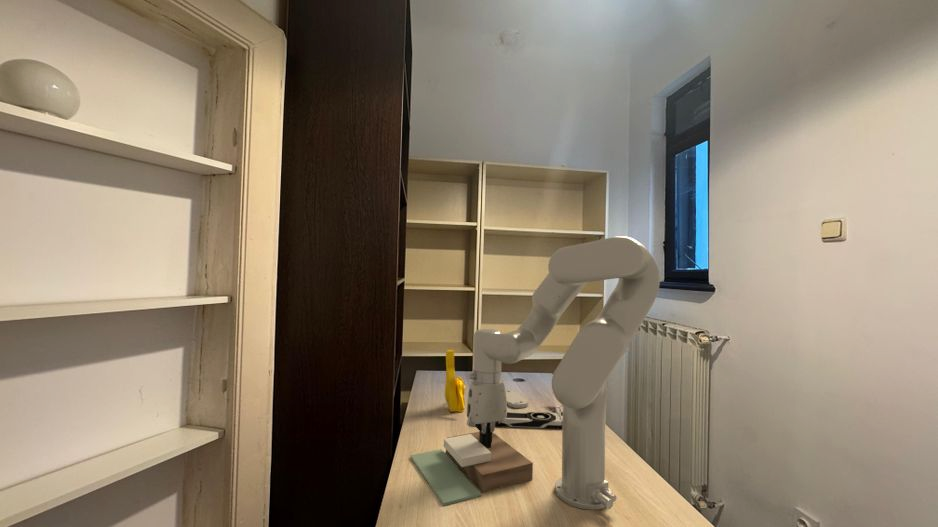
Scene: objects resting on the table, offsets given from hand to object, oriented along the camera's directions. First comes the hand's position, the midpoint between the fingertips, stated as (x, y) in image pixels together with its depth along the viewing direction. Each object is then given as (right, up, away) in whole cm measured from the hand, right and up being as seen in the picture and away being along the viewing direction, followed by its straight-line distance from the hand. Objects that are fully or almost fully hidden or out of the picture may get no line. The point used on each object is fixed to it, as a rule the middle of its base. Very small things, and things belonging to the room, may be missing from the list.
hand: (485, 446), depth 101 cm
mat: (-11, -5, -6) cm, 13 cm away
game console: (+13, -7, +52) cm, 54 cm away
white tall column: (+30, -7, +35) cm, 47 cm away
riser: (0, -5, 0) cm, 5 cm away
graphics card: (+14, -7, +29) cm, 33 cm away
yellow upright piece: (-10, -6, +41) cm, 42 cm away
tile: (-5, -1, -3) cm, 6 cm away
